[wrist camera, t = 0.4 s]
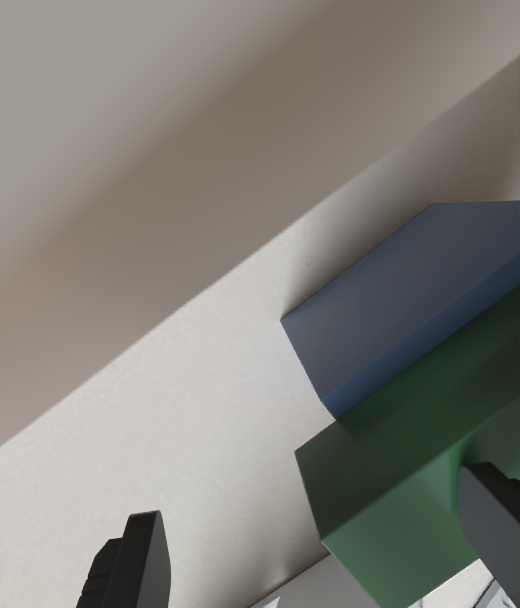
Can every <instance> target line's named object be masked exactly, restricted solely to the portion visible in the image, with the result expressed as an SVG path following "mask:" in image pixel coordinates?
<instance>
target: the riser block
mask: <svg viewBox="0 0 520 608" xmlns="http://www.w3.org/2000/svg"><path fill="white" fill-rule="evenodd" d="M519 285H520V201H493V202H467V203H440V204H432V205H430V206H429V207H428V208H426V209H425V210H424V211H422V212H421V213H420V214H419V215H417V216H416V217H415V218H413V219H412V220H411V221H409V222H408V223H407V224H405V225H404V226H403V227H402V228H400V229H399V230H398V231H396V232H395V233H394V234H392V235H391V236H390V237H389V238H387V239H386V240H385V241H383V242H382V243H381V244H379V245H378V246H377V247H375V248H374V249H373V250H372V251H370V252H369V253H368V254H366V255H365V256H364V257H362V258H361V259H360V260H359V261H357V262H356V263H355V264H353V265H352V266H351V267H349V268H348V269H347V270H345V271H344V272H343V273H342V274H340V275H339V276H338V277H336V278H335V279H334V280H332V281H331V282H330V283H329V284H327V285H326V286H325V287H323V288H322V289H321V290H319V291H318V292H317V293H315V294H314V295H313V296H312V297H310V298H309V299H308V300H306V301H305V302H304V303H302V304H301V305H300V306H298V307H297V308H296V309H295V310H293V311H292V312H291V313H289V314H288V315H287V316H285V317H284V318H283V319H282V320H280V322H281V324H282V326H283V328H284V330H285V332H286V334H287V336H288V338H289V340H290V342H291V344H292V346H293V348H294V350H295V352H296V354H297V356H298V358H299V360H300V362H301V364H302V365H303V367H304V369H305V371H306V373H307V375H308V377H309V379H310V381H311V383H312V385H313V387H314V389H315V391H316V393H317V395H318V397H319V399H320V401H321V402H322V403H323V405H324V406H325V407H326V408H327V410H328V411H329V412H330V413H331V415H332V416H333V417H334V418H335V420H337V419H339V418H340V417H341V416H343V415H344V414H346V413H347V412H348V411H350V410H351V409H352V408H354V407H355V406H356V405H358V404H359V403H360V402H362V401H363V400H364V399H366V398H367V397H369V396H370V395H371V394H373V393H374V392H375V391H377V390H378V389H379V388H381V387H382V386H383V385H385V384H386V383H387V382H389V381H390V380H392V379H393V378H394V377H396V376H397V375H398V374H400V373H401V372H402V371H404V370H405V369H406V368H408V367H409V366H410V365H412V364H413V363H415V362H416V361H417V360H419V359H420V358H421V357H423V356H424V355H425V354H427V353H428V352H429V351H431V350H432V349H433V348H435V347H436V346H438V345H439V344H440V343H442V342H443V341H444V340H446V339H447V338H448V337H450V336H451V335H452V334H454V333H455V332H456V331H458V330H459V329H461V328H462V327H463V326H465V325H466V324H467V323H469V322H470V321H471V320H473V319H474V318H475V317H477V316H478V315H479V314H481V313H482V312H483V311H485V310H486V309H488V308H489V307H490V306H492V305H493V304H494V303H496V302H497V301H498V300H500V299H501V298H502V297H504V296H505V295H506V294H508V293H509V292H511V291H512V290H513V289H515V288H516V287H517V286H519Z"/></svg>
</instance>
